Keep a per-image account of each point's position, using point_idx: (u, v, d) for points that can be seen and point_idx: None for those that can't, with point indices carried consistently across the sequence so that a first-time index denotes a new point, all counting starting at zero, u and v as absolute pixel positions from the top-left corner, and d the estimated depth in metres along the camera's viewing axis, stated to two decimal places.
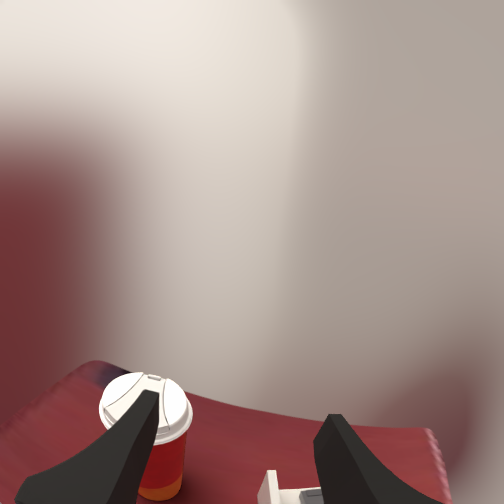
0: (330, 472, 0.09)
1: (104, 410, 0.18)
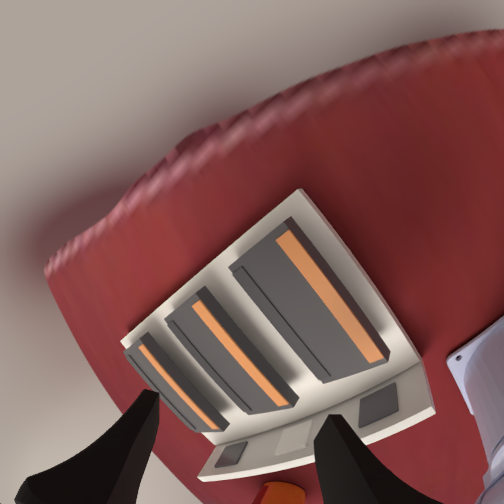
0: (330, 472, 0.09)
1: None
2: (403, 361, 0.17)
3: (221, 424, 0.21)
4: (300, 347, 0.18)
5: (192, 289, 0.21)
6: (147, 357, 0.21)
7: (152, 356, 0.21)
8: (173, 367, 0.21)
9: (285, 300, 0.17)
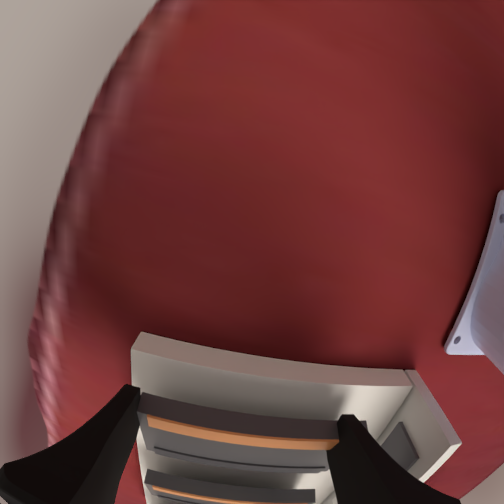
0: (344, 471, 0.09)
1: None
2: (394, 399, 0.13)
3: None
4: (273, 467, 0.13)
5: (148, 463, 0.15)
6: None
7: None
8: None
9: (215, 453, 0.12)
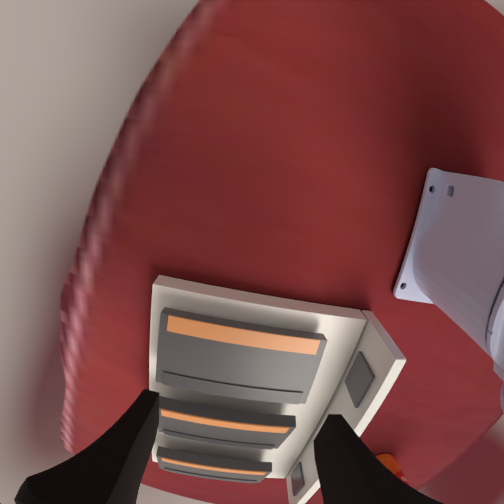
0: (330, 472, 0.09)
1: None
2: (352, 331, 0.19)
3: (265, 468, 0.21)
4: (259, 394, 0.18)
5: None
6: (173, 463, 0.20)
7: (175, 460, 0.20)
8: (196, 456, 0.20)
9: (213, 369, 0.17)
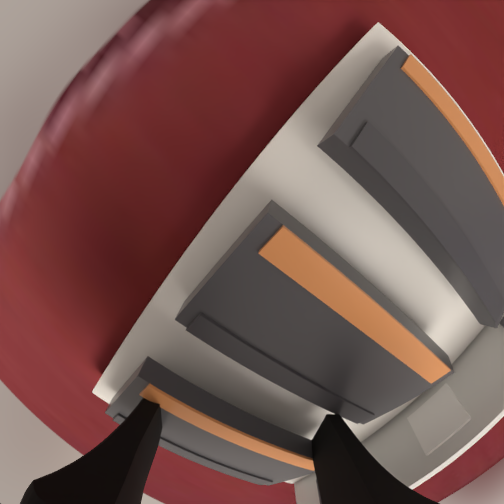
0: (328, 472, 0.09)
1: None
2: None
3: None
4: (475, 273, 0.08)
5: (219, 236, 0.10)
6: (164, 407, 0.10)
7: (177, 400, 0.09)
8: (221, 405, 0.10)
9: (444, 177, 0.07)
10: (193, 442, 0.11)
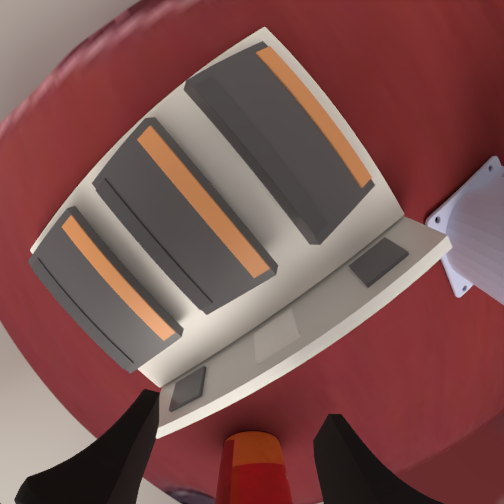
0: (330, 472, 0.09)
1: None
2: (388, 214, 0.17)
3: (175, 327, 0.17)
4: (286, 183, 0.13)
5: None
6: (73, 238, 0.15)
7: (83, 231, 0.15)
8: (107, 249, 0.16)
9: (265, 114, 0.13)
10: (81, 289, 0.15)
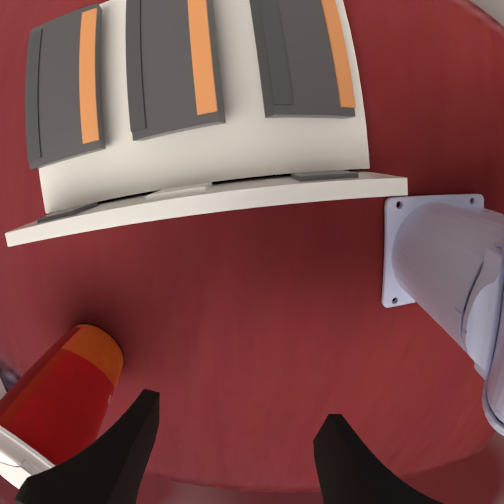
0: (330, 472, 0.09)
1: None
2: (353, 156, 0.16)
3: (101, 139, 0.14)
4: (275, 53, 0.12)
5: None
6: (83, 24, 0.11)
7: (95, 22, 0.11)
8: (98, 48, 0.13)
9: (291, 6, 0.11)
10: (53, 66, 0.12)
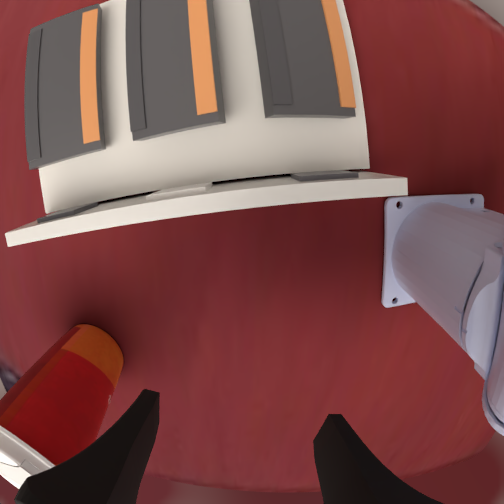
0: (330, 472, 0.09)
1: None
2: (353, 156, 0.16)
3: (101, 139, 0.14)
4: (275, 53, 0.12)
5: None
6: (83, 24, 0.11)
7: (96, 23, 0.12)
8: (99, 48, 0.13)
9: (291, 6, 0.11)
10: (53, 66, 0.12)
